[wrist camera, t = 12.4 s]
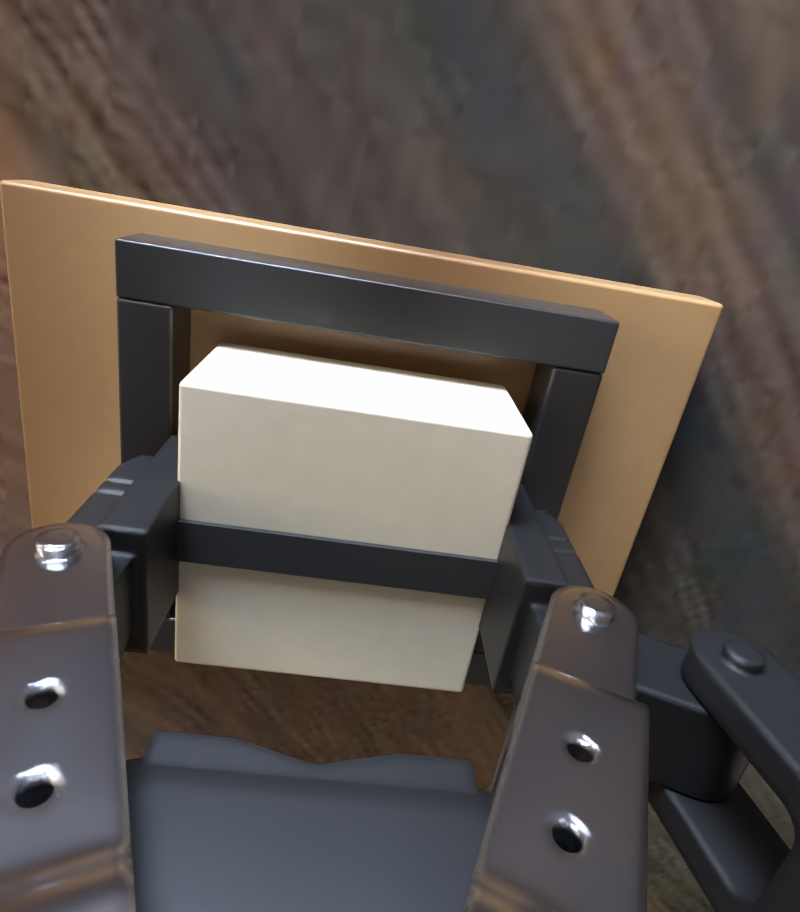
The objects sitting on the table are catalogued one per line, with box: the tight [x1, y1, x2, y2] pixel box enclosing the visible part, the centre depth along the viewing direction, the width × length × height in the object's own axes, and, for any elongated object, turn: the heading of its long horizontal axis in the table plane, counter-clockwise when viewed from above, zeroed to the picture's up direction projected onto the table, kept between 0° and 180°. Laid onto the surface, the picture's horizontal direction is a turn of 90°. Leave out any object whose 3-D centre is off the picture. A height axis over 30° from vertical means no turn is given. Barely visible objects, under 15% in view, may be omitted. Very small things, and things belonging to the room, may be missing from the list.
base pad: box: [0, 180, 723, 686], centre depth 13 cm, size 14×10×2 cm
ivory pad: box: [175, 342, 533, 692], centre depth 12 cm, size 6×6×3 cm
